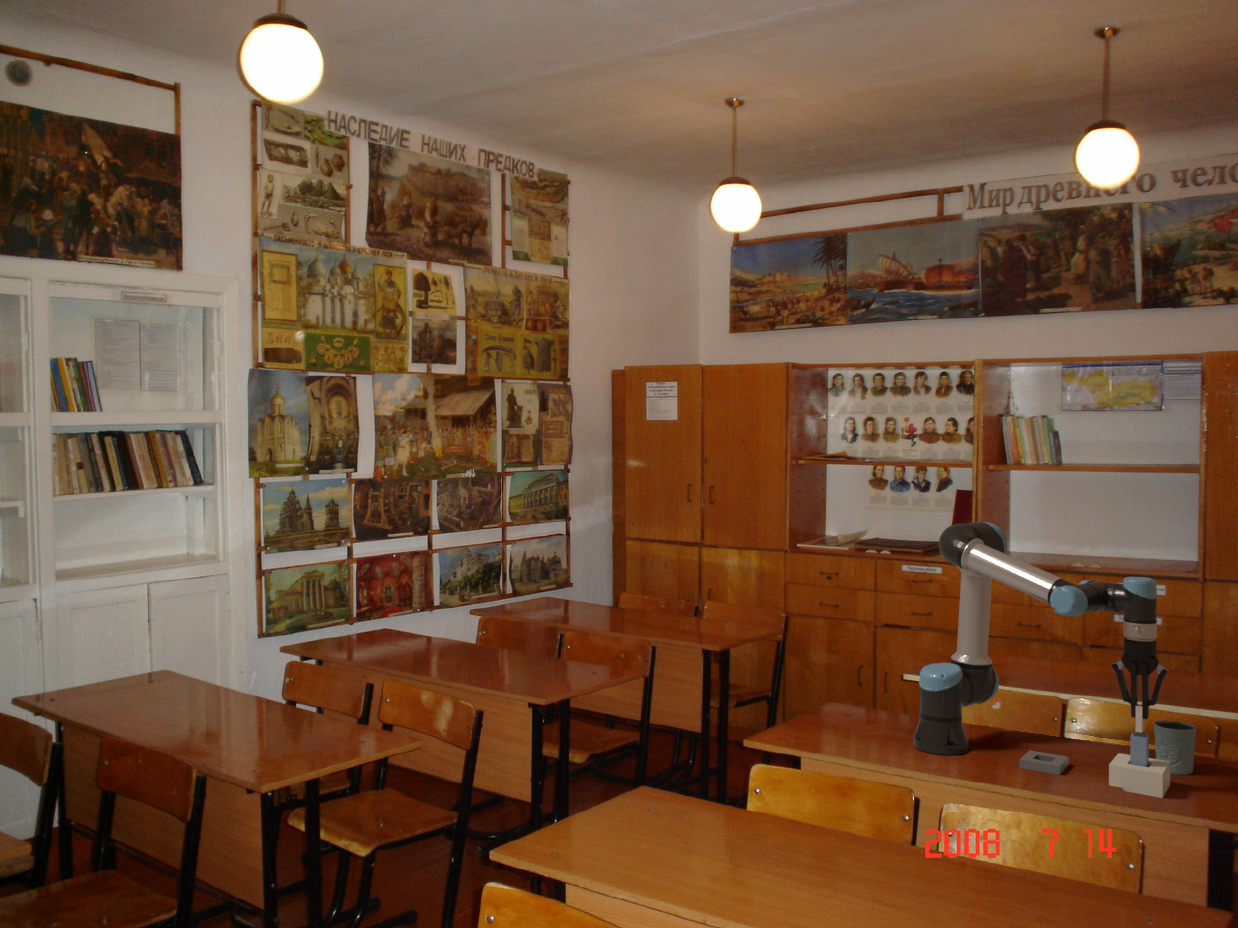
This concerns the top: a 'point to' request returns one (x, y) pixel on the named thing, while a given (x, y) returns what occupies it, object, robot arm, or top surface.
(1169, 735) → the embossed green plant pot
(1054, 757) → the grey square socket block
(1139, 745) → the plug
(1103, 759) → the top surface
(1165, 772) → the port
